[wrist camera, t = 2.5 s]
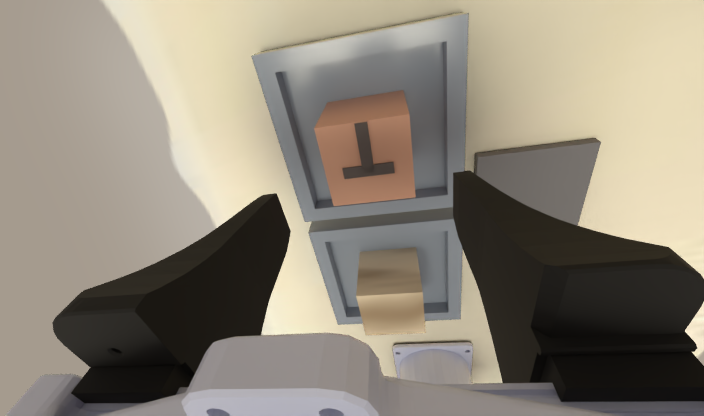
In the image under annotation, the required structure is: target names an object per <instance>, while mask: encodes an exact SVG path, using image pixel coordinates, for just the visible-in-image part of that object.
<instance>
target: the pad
mask: <svg viewBox="0 0 704 416" xmlns="http://www.w3.org/2000/svg"><path fill="white" fill-rule="evenodd" d="M600 144H601V142H600V141H599V140H597V139H596V138H593V139H585V140H577V141H569V142H561V143H553V144H545V145H537V146H529V147H521V148H513V149H506V150H498V151H490V152H482V153H475V170H474V174H476V175H477V176H479V177H480V178H482V179H483V180H485V181H486V182H488V183H489V184H491V185H492V186H494V187H495V188H497V189H498V190H500V191H502V192H503V193H505V194H507V195H508V196H510V197H512V198H514V199H515V200H517V201H519V202H521V203H523V204H525V205H527V206H529V207H531V208H533V209H535V210H538V211H540V212H542V213H544V214H547V215H549V216H552V217H554V218H557V219H559V220H562V221H565V222H568V223H571V224H574V225H578V222H579V218H580V215H581V211H582V208H583V204H584V200H585V197H586V193H587V190H588V186H589V183H590V179H591V176H592V172H593V169H594V165H595V161H596V158H597V154H598V151H599V147H600Z"/></svg>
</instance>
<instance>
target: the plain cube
mask: <svg viewBox="0 0 704 416" xmlns="http://www.w3.org/2000/svg"><path fill="white" fill-rule="evenodd" d="M356 298H357V302H358V306H359V310H360V314H361V318H362V322H363V326H364V330H365V334H366V335H386V334H412V333H426V330H425V317H424V303H423V291H422V284H421V277H420V270H419V264H418V257H417V250H416V247H413V248H401V249H389V250H377V251H364V252H360V254H359V267H358V279H357V291H356Z"/></svg>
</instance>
